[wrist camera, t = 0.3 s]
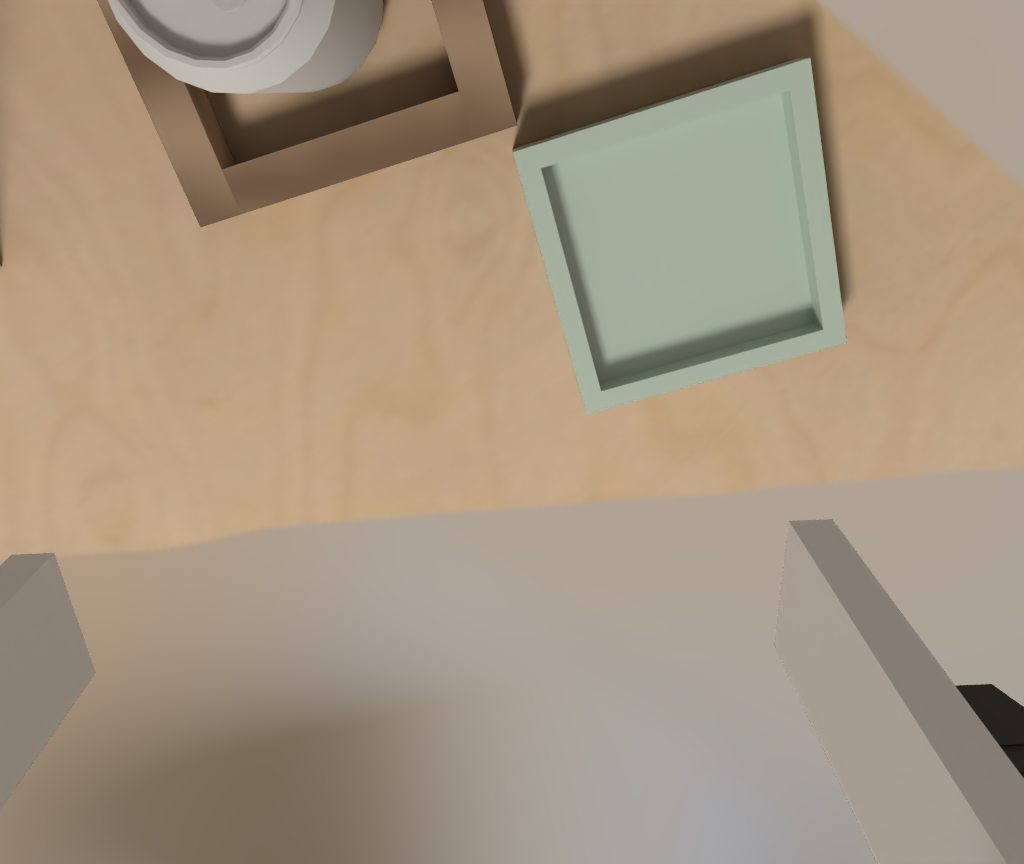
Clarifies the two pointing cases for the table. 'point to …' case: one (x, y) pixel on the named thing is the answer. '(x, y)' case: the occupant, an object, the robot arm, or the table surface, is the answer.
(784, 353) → the tray
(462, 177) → the table surface
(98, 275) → the table surface
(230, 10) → the can
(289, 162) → the holder
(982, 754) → the robot arm
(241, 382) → the table surface
